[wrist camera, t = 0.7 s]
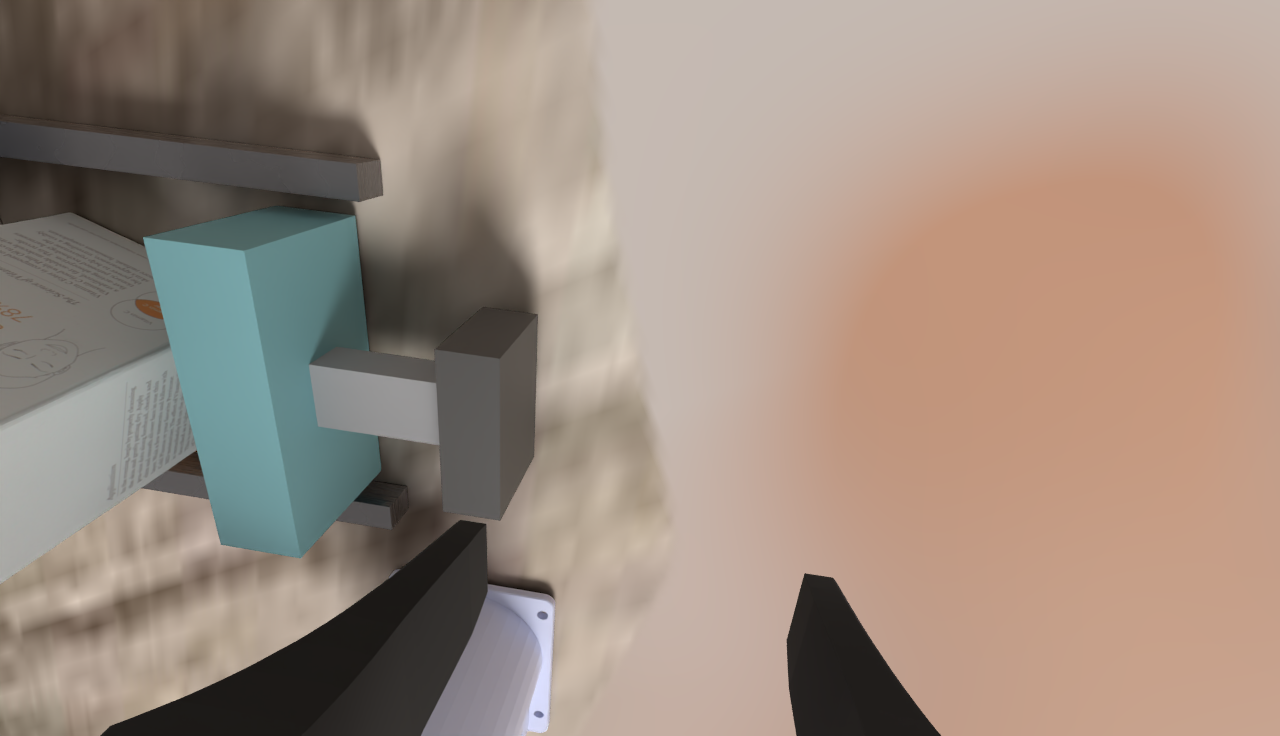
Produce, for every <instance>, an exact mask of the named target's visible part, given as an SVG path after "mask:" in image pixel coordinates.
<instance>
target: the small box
mask: <svg viewBox="0 0 1280 736" xmlns="http://www.w3.org/2000/svg"><path fill="white" fill-rule="evenodd" d="M196 450H197V448H196V444H195V440H194V436H193V432H192V428H191V425H190V421H189V417H188V413H187V409H186V405H185V401H184V397H183V393H182V389H181V385H180V381H179V377H178V373H177V370H176V366H175V362H174V358H173V354H172V350H171V346H170V342H169V338H168V334H167V330H166V326H165V322H164V318H163V315H162V311H161V307H160V303H159V299H158V295H157V291H156V287H155V283H154V279H153V275H152V271H151V267H150V263H149V259H148V256H147V252H146V248H145V247H144V246H142V245H140V244H138V243H136V242H134V241H132V240H129V239H127V238H125V237H123V236H121V235H119V234H116V233H114V232H112V231H110V230H108V229H106V228H104V227H101V226H99V225H97V224H95V223H93V222H91V221H89V220H87V219H84V218H82V217H80V216H78V215H76V214H74V213H70V212H68V213H63V214H58V215H53V216H48V217H42V218H37V219H32V220H26V221H21V222H15V223H9V224H3V225H0V584H1V583H3V582H4V581H5V580H7V579H8V578H10V577H11V576H13V575H14V574H16V573H17V572H19V571H20V570H22V569H23V568H25V567H26V566H27V565H29V564H30V563H32V562H33V561H35V560H36V559H38V558H39V557H40V556H42V555H43V554H45V553H47V552H48V551H50V550H51V549H53V548H54V547H55V546H57V545H58V544H60V543H61V542H63V541H64V540H65V539H67V538H68V537H70V536H71V535H73V534H74V533H76V532H77V531H79V530H80V529H82V528H83V527H85V526H86V525H87V524H89V523H90V522H92V521H93V520H95V519H96V518H98V517H99V516H101V515H102V514H104V513H105V512H107V511H108V510H110V509H111V508H113V507H114V506H116V505H117V504H118V503H120V502H121V501H123V500H124V499H126V498H127V497H129V496H130V495H132V494H133V493H135V492H136V491H138V490H139V489H140V488H142V487H143V486H145V485H147V484H148V483H150V482H151V481H152V480H154V479H155V478H157V477H158V476H160V475H161V474H163V473H164V472H166V471H167V470H169V469H170V468H171V467H173V466H174V465H176V464H177V463H178V462H180V461H181V460H183V459H184V458H186V457H187V456H189V455H190V454H192V453H193V452H195V451H196Z"/></svg>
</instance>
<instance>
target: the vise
mask: <svg viewBox="0 0 1280 736" xmlns="http://www.w3.org/2000/svg"><path fill="white" fill-rule="evenodd" d="M0 157H6V158H14V159H22V160H30V161H38V162H46V163H54V164H62V165H70V166H78V167H86V168H94V169H102V170H110V171H118V172H126V173H134V174H142V175H150V176H158V177H166V178H174V179H182V180H190V181H198V182H206V183H214V184H222V185H230V186H238V187H246V188H254V189H262V190H270V191H278V192H286V193H293V194H301V195H309V196H317V197H325V198H333V199H341V200H349V201H357V202H361V201H364V200H368V199H371V198H375V197H378V196H382V195H383V190H382V178H381V165H380V160H378V159H370V158H361V157H353V156H345V155H336V154H328V153H320V152H311V151H303V150H295V149H286V148H278V147H269V146H261V145H253V144H244V143H236V142H228V141H219V140H211V139H203V138H194V137H186V136H178V135H169V134H161V133H153V132H144V131H136V130H127V129H119V128H111V127H102V126H94V125H86V124H77V123H69V122H61V121H52V120H44V119H36V118H27V117H19V116H10V115H2V114H0ZM0 225H2V223H1V220H0ZM142 488H144V489H150V490H156V491H162V492H168V493H174V494H180V495H186V496H192V497H198V498H204V499H209V495H208V491H207V487H206V484H205V480H204V476H203V472H202V468H201V464H200V460H199V456H198V453H196V452H193V453H192V454H190V455H189V456H187V457H186V458H184V459H183V460H181V461H180V462H178V463H177V464H176V465H174V466H173V467H171V468H170V469H169V470H167V471H166V472H164V473H163V474H161V475H160V476H158V477H157V478H155V479H154V480H152V481H151V482H150V483H148V484H147V485H145V486H143V487H142ZM408 508H409V507H408V494H407V486H402V485H395V484H389V483H383V482H377V481H371V482H370V483H369V485H368V486H367V487H366V488H365V489H364V490H363V491H362V492H361V493H360V494H359V495H358V497H357V498H356V499H355V500H354V501H353V502H352V503H351V504H350V505H349V506H348V507H347V509H346V510H345V511H344V512H343V513H342V514H341V515H340V516H339V517H338V518H337V519H336V521H342V522H348V523H354V524H360V525H366V526H372V527H378V528H384V529H390V530H392V529H393V528H394V527H395V525H396V524H397V523H398V521H399V520H400V519H401V517H402V516H403V515H404V514H405V512H406V511H407V510H408Z"/></svg>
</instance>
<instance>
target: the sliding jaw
mask: <svg viewBox="0 0 1280 736" xmlns="http://www.w3.org/2000/svg"><path fill="white" fill-rule="evenodd" d="M143 240H144V244H145V248H146V252H147V256H148V259H149V263H150V267H151V271H152V275H153V279H154V283H155V287H156V291H157V295H158V299H159V303H160V307H161V311H162V315H163V318H164V322H165V326H166V330H167V334H168V338H169V342H170V346H171V350H172V354H173V358H174V362H175V366H176V370H177V373H178V377H179V381H180V385H181V389H182V393H183V397H184V401H185V405H186V409H187V413H188V417H189V421H190V425H191V428H192V432H193V436H194V440H195V444H196V448H197V452H198V456H199V460H200V464H201V468H202V472H203V476H204V480H205V484H206V487H207V491H208V495H209V499H210V503H211V507H212V511H213V515H214V519H215V523H216V527H217V531H218V535H219V539H220V542H221V545H226V546H232V547H238V548H244V549H249V550H255V551H261V552H267V553H273V554H279V555H284V556H290V557H296V558H302V556H303V555H304V554H305V553H306V552H307V551H308V550H309V549H310V548H311V547H312V546H313V544H314V543H315V542H316V541H317V540H318V539H319V538H320V537H321V536H322V535H323V534H324V532H325V531H326V530H327V529H328V528H329V527H330V526H331V525H332V524H333V523H334V522H335V520H336V519H337V518H338V517H339V516H340V515H341V514H342V513H343V512H344V511H345V510H346V509H347V507H348V506H349V505H350V504H351V503H352V502H353V501H354V500H355V499H356V498H357V497H358V495H359V494H360V493H361V492H362V491H363V490H364V489H365V488H366V487H367V486H368V485H369V483H370V482H371V481H372V480H373V479H374V478H375V477H376V476H377V475H378V474H379V473H380V471H381V462H380V452H379V442H378V436H383V437H389V438H396V439H402V440H409V441H415V442H422V443H428V444H434V445H439V446H440V465H441V484H442V503H443V511H444V512H450V513H456V514H462V515H468V516H474V517H481V518H487V519H493V520H499V521H500V520H501V518H502V516H503V514H504V512H505V511H506V509H507V507H508V505H509V503H510V501H511V499H512V497H513V495H514V493H515V492H516V490H517V488H518V486H519V484H520V482H521V480H522V478H523V476H524V474H525V473H526V471H527V469H528V467H529V465H530V463H531V461H532V459H533V457H534V437H535V400H536V362H537V324H538V314H531V313H523V312H516V311H509V310H501V309H494V308H487V307H483V308H482V309H480V310H479V311H478V312H477V313H476V314H475V315H474V316H472V317H471V318H470V319H469V320H468V321H467V322H465V323H464V324H463V325H462V326H461V327H460V328H459V329H457V330H456V331H455V332H454V333H453V334H452V335H451V336H449V337H448V338H447V339H446V340H445V341H444V342H442V343H441V344H440V345H439V346H438V347H437V348H436V349H434V350H435V361H433V360H426V359H419V358H412V357H405V356H398V355H391V354H384V353H377V352H371V351H369V345H368V335H367V325H366V315H365V306H364V296H363V286H362V276H361V267H360V257H359V247H358V237H357V228H356V218H355V215H347V214H339V213H331V212H323V211H315V210H307V209H300V208H292V207H284V206H272V207H268V208H264V209H260V210H256V211H251V212H247V213H243V214H239V215H235V216H230V217H226V218H222V219H218V220H214V221H209V222H205V223H201V224H197V225H193V226H188V227H184V228H180V229H176V230H172V231H167V232H163V233H159V234H155V235H151V236H146V237H143Z"/></svg>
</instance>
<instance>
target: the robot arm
mask: <svg viewBox="0 0 1280 736" xmlns="http://www.w3.org/2000/svg"><path fill="white" fill-rule="evenodd" d="M541 611H543V612H546V613H543V612H541ZM554 621H555V600H554V599H553V598H552V597H551V596H550V595H547V594H543V593H537V592H531V591H525V590H519V589H514V588H508V587H502V586H496V585H490V584H488V578H487V538H486V524H483V523H476V522H470V521H463V520H460V521H459V522H457V523H456V524H455V525H453V526H452V527H451V528H450V529H448V530H447V531H446V532H445V533H444V534H443V535H441V536H440V537H439V538H438V539H437V540H436V541H434V542H433V543H432V544H431V545H430V546H428V547H427V548H426V549H425V550H424V551H422V552H421V553H420V554H419V555H418V556H416V557H415V558H414V559H413V560H412V561H410V562H409V563H408V564H406V565H405V566H404V567H403V568H401V569H396V570H394V571H393V572H392V573H391V575H390V576H389V579H388V580H386V581H385V582H384V583H382V584H381V585H380V586H378V587H377V588H376V589H374V590H373V591H371V592H370V593H369V594H367V595H366V596H365V597H363V598H362V599H360V600H359V601H358V602H356V603H355V604H354V605H352V606H351V607H349V608H348V609H346V610H345V611H343V612H342V613H341V614H339V615H338V616H336V617H335V618H333V619H332V620H330V621H328V622H327V623H325V624H324V625H322V626H321V627H319V628H317V629H316V630H314V631H313V632H311V633H309V634H308V635H306V636H304V637H303V638H301V639H299V640H298V641H296V642H294V643H292V644H290V645H288V646H287V647H285V648H283V649H281V650H279V651H277V652H275V653H274V654H272V655H270V656H268V657H266V658H264V659H263V660H261V661H259V662H257V663H255V664H253V665H251V666H249V667H247V668H245V669H243V670H241V671H239V672H237V673H235V674H233V675H231V676H229V677H227V678H225V679H223V680H221V681H219V682H216V683H214V684H212V685H210V686H208V687H205V688H203V689H201V690H199V691H196V692H194V693H192V694H190V695H187V696H185V697H183V698H180V699H178V700H176V701H173V702H171V703H168V704H166V705H163V706H161V707H158V708H156V709H153V710H150V711H148V712H145V713H143V714H140V715H138V716H135V717H133V718H130V719H128V720H125V721H123V722H120V723H117V724H114V725H112V726H110V727H109V728H108V729H107V730H106V731H105V732H104V733H103V734H102V735H101V736H526V734H527V731H532V732H538V733H542V732H545V731H547V729H548V726H549V720H550V700H551V680H552V660H553V641H554ZM787 659H788V677H789V691H790V698H791V704H792V710H793V716H794V723H795V728H796V735H797V736H941V735H940V734H939V733H938V731H937V730H936V729H935V728H934V727H933V725H932V724H931V723H930V722H929V720H928V719H927V718H926V717H925V715H924V714H923V713H922V711H921V710H920V709H919V707H918V706H917V705H916V703H915V702H914V701H913V699H912V698H911V697H910V695H909V694H908V693H907V691H906V690H905V689H904V687H903V686H902V685H901V683H900V682H899V680H898V679H897V677H896V676H895V675H894V673H893V672H892V670H891V669H890V667H889V666H888V665H887V663H886V661H885V660H884V659H883V657H882V655H881V654H880V652H879V651H878V649H877V648H876V647H875V645H874V644H873V642H872V640H871V639H870V637H869V636H868V634H867V632H866V631H865V629H864V628H863V626H862V625H861V623H860V621H859V620H858V618H857V616H856V615H855V613H854V611H853V610H852V608H851V606H850V605H849V603H848V602H847V600H846V598H845V596H844V595H843V593H842V591H841V589H840V588H839V586H838V584H837V583H836V581H835V580H834V579H833V578H831V577H824V576H818V575H811V574H804V578H803V582H802V585H801V589H800V593H799V596H798V600H797V604H796V608H795V611H794V615H793V619H792V623H791V626H790V631H789V634H788V638H787Z"/></svg>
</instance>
